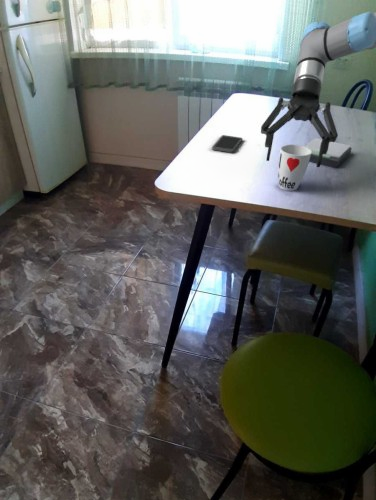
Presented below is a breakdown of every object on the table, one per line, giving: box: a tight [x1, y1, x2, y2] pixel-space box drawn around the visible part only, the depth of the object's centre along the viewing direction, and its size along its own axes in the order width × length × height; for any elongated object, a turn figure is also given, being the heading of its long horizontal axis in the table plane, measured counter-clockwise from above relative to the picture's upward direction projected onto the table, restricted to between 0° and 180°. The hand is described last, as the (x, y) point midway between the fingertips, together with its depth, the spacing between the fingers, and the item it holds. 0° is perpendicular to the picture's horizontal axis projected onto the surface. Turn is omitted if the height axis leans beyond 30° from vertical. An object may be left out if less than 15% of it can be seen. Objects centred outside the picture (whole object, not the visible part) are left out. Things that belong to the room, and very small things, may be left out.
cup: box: [277, 144, 312, 192], centre depth 111 cm, size 8×8×10 cm
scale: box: [304, 137, 353, 169], centre depth 133 cm, size 13×15×3 cm
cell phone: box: [211, 134, 243, 154], centre depth 137 cm, size 7×14×1 cm, turn 162°
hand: (293, 161), depth 110 cm, fingers open, 13 cm apart
